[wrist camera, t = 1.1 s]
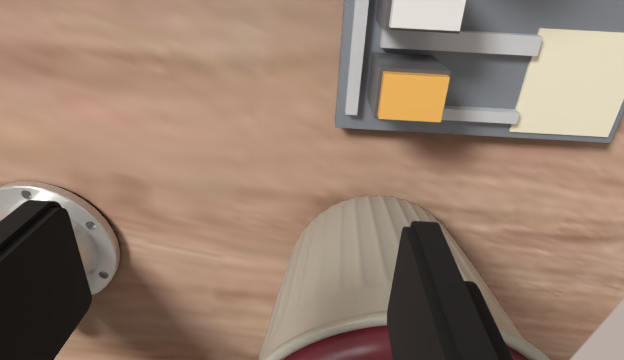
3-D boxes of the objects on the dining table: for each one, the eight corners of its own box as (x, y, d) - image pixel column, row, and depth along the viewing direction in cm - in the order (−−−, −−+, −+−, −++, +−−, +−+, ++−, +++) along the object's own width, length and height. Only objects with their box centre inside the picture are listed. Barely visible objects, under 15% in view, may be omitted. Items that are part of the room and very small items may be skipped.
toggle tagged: (424, 100, 28) (443, 125, 23) (366, 96, 28) (374, 122, 23) (432, 55, 27) (454, 74, 22) (372, 52, 27) (381, 69, 22)
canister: (284, 326, 41) (250, 621, 23) (253, 168, 33) (157, 432, 14) (465, 316, 40) (587, 623, 21) (480, 148, 31) (702, 413, 13)
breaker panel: (598, 135, 31) (617, 147, 29) (335, 120, 31) (335, 131, 29) (679, -65, 25) (711, -68, 22) (350, -82, 25) (352, -87, 23)
